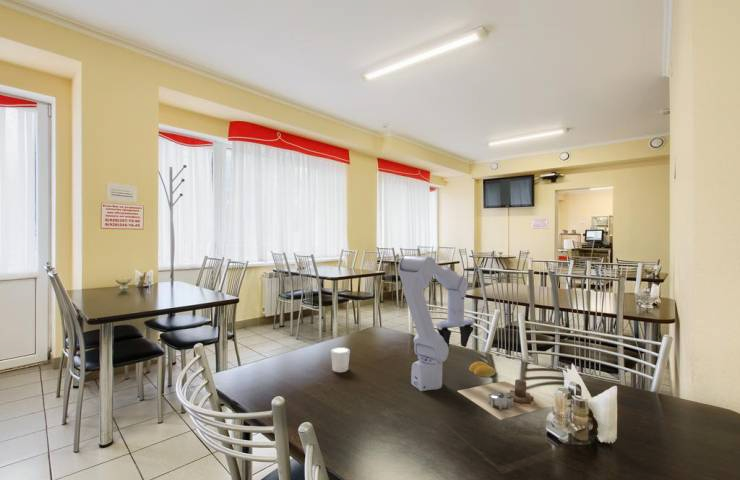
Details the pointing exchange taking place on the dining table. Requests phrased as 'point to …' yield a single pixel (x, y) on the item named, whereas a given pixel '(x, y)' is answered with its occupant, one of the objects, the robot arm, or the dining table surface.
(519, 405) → the pink flat pad
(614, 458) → the dining table surface
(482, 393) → the carrier board
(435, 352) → the robot arm
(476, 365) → the bread roll
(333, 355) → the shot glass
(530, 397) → the planet gear
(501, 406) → the sun gear
